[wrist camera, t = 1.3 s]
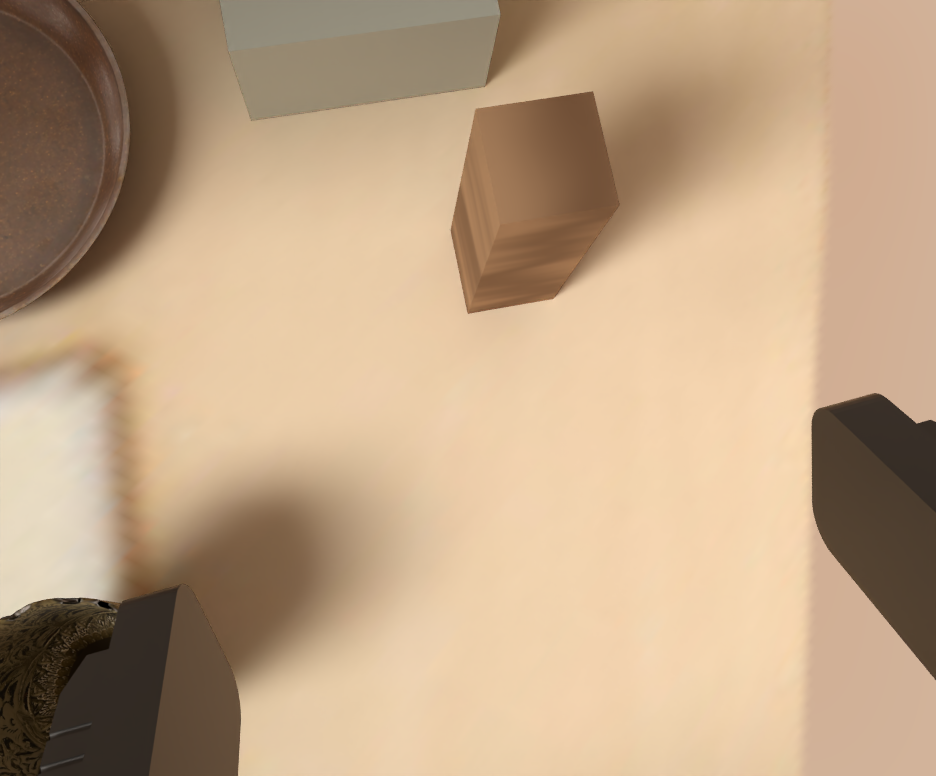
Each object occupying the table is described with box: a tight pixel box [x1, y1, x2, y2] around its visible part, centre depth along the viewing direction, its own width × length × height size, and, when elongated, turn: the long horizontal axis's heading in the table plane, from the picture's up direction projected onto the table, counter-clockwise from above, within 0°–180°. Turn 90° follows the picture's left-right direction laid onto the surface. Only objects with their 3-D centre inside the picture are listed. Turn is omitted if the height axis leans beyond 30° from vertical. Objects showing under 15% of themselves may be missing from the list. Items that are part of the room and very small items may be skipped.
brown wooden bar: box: [451, 92, 619, 314], centre depth 35 cm, size 4×4×12 cm
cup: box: [0, 598, 120, 776], centre depth 33 cm, size 7×7×8 cm
